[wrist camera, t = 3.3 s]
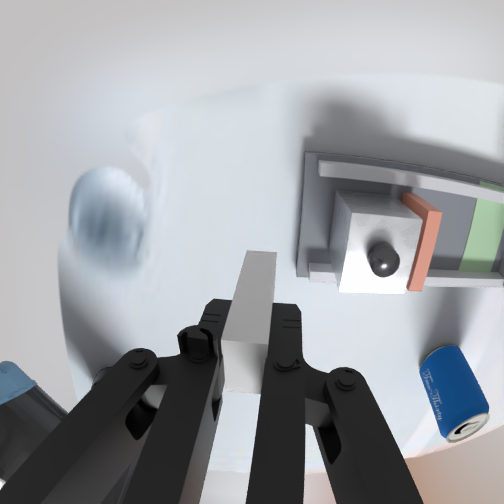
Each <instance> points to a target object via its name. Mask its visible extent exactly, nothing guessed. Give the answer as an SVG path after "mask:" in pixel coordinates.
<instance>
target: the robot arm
mask: <svg viewBox="0 0 504 504" xmlns="http://www.w3.org/2000/svg"><path fill="white" fill-rule="evenodd" d="M276 257H277V252H262V251H247V252H246V256H245V259H244V262H243V266H242V269H241V273H240V276H239V279H238V283H237V286H236V290H235V293H234V296H233V300H223V299H213V300H212V301H210V302H209V303H208V304H207V305H206V307H205V309H204V312H203V315H202V317H201V319H200V322H199V324H198V325H193V326H189V327H186V328H185V329H183V330H181V331H180V332H179V334H178V335H177V337H178V343H179V348H180V354H178V355H176V356H170V357H159V358H157V356H156V355H155V353H154V352H152V351H151V350H149V349H145V348H137V349H133V350H131V351H129V352H127V353H126V354H125V355H124V356H123V357H122V358H121V359H120V360H119V361H118V362H117V363H116V364H115V365H114V366H113V367H110V368H105V369H103V370H101V371H100V372H99V373H98V375H97V376H96V378H95V380H94V381H93V383H92V387H91V390H90V391H89V392H88V393H87V394H86V395H85V396H84V398H83V399H82V400H81V401H80V402H79V403H78V404H77V405H76V406H75V407H74V408H73V409H72V410H71V411H70V412H69V413H68V412H67V411H66V410H64V409H63V408H62V407H61V406H60V405H59V404H58V403H56V402H55V401H54V400H53V399H52V398H51V397H50V396H49V395H48V394H46V393H45V392H44V391H43V390H42V389H41V388H40V387H39V386H38V385H37V383H36V382H35V381H34V380H32V379H31V378H29V376H27V375H26V374H25V373H24V372H23V371H22V370H21V369H20V368H19V367H18V366H17V365H16V364H15V363H13V362H10V361H3V362H1V363H0V504H199V502H200V498H201V493H202V489H203V485H204V480H205V476H206V472H207V468H208V463H209V459H210V454H211V450H212V446H213V441H214V437H215V433H216V428H217V424H218V420H219V415H220V411H221V406H222V391H223V387H224V388H225V391H234V392H243V393H253V394H261V397H260V405H259V413H258V421H257V428H256V436H255V443H254V450H253V457H252V464H251V471H250V478H249V485H248V491H247V498H246V504H303V497H304V473H305V423H306V424H309V425H312V426H313V429H314V432H315V436H316V439H317V442H318V445H319V449H320V452H321V455H322V458H323V461H324V465H325V468H326V471H327V474H328V477H329V481H330V484H331V487H332V491H333V494H334V497H335V500H336V503H337V504H423V501H422V499H421V496H420V494H419V492H418V489H417V487H416V485H415V483H414V480H413V478H412V476H411V474H410V471H409V469H408V467H407V465H406V463H405V460H404V458H403V456H402V454H401V452H400V450H399V448H398V445H397V443H396V441H395V439H394V437H393V435H392V433H391V431H390V429H389V427H388V425H387V422H386V420H385V418H384V416H383V414H382V412H381V410H380V408H379V406H378V404H377V402H376V400H375V398H374V396H373V394H372V392H371V390H370V388H369V386H368V384H367V382H366V380H365V378H364V377H363V376H362V375H361V373H360V372H358V371H356V370H355V369H352V368H348V367H339V368H336V369H334V370H332V371H331V372H330V373H326V372H322V371H319V370H316V369H314V368H312V367H311V366H309V365H308V364H307V363H306V362H305V360H304V358H303V354H302V322H301V311H300V309H299V308H298V306H297V305H296V304H284V303H273V302H274V288H275V273H276Z"/></svg>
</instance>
